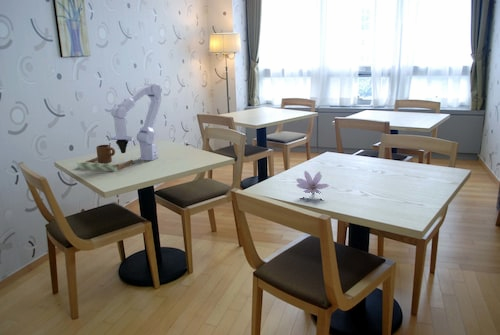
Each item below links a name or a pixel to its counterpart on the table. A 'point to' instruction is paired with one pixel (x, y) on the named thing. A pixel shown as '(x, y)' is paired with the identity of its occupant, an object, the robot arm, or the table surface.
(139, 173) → the table surface
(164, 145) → the table surface
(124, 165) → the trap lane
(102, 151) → the mug
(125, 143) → the robot arm
